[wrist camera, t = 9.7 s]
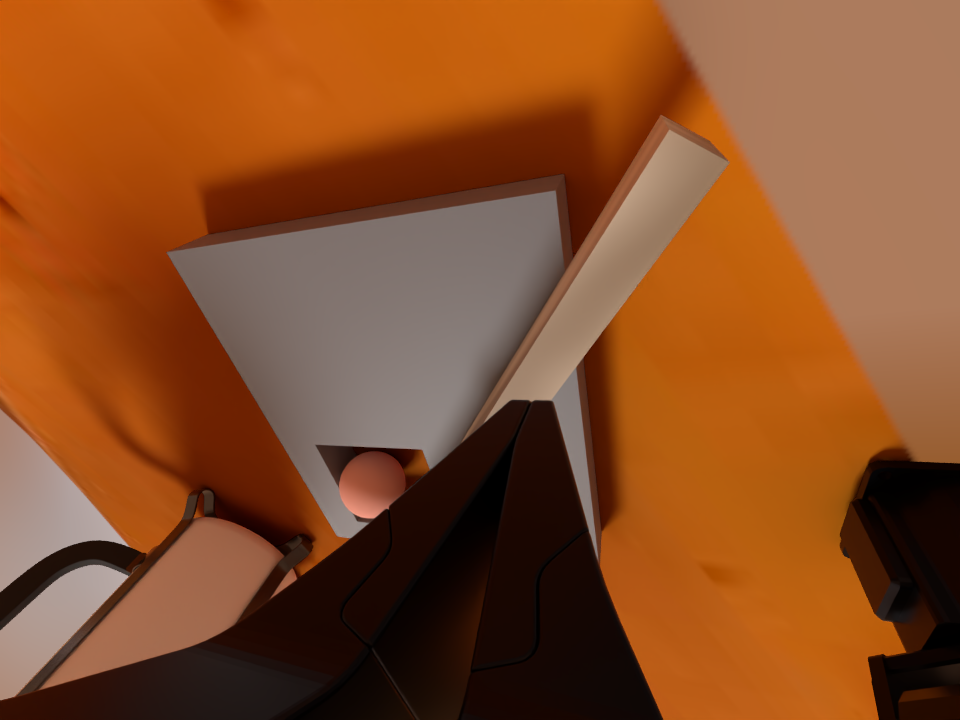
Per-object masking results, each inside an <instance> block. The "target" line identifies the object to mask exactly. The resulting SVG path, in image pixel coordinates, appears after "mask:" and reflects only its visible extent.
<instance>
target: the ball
mask: <svg viewBox="0 0 960 720" xmlns="http://www.w3.org/2000/svg"><path fill="white" fill-rule="evenodd" d="M405 486H406V479H405V474H404V471H403V469H402V467H401V465H400V464H399V462H398V461H397V460H396V459H395V458H393V457H392V456H391V455H389V454H386V453H384V452H379V451H370V452H365V453H362V454H360V455H358V456H356V457H355V458H353V459H352V460H351V461H350V462H349V463H348V464H347V465H346V467H345V468H344V470H343V472H342V474H341V477H340V482H339V492H340V496H341V499H342V501H343V503H344V505H345V506H346V507H347V509H348V510H349V511H351V512H352V513H353V514H355V515H357V516H359V517H363V518H375V517H376V516H378V515H379V514H380V513H381V512H382V511H383V510H384V509H389V505H390V504H392V503H393V502H394V501H395V500H396V499H397V498H398V497H400V496H401V495H402V494H403V493H404V491H405Z"/></svg>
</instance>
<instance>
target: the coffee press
mask: <svg viewBox="0 0 960 720" xmlns="http://www.w3.org/2000/svg"><path fill="white" fill-rule="evenodd" d="M201 493H203V494H204V514H205V516H206V517H199V518H193V517H194V515H195V512H196V508H197V502H198V498H199V495H200V494H201ZM312 549H313V545H312V543H311V542H310V541H309V540H308V539H307V538H306V537H305V536H304V535H303V534H299V535H297V536H295V537H294V538H292V539H291V540H289V541H287V542H286V543H284V544H282V545H278V546H273V545H272V544H270V543H269V542H268V541H266V540H265V539H264V538H262V537H261V536H259V535H257V534H256V533H254V532H252V531H250V530H249V529H247V528H244V527H242V526H240V525H238V524H235V523H233V522H230V521H226V520H223V519H219V518H218V517H217V516H216V514H215V494H214V492H213V491H212V490H211V489H199V490H194V491H192V492H191V493H190V494H189V496H188V499H187V504H186V509H185V513H184V516H183V518H182V520H181V521H180V523H179V524H178V525H177V526H176V528H175V529H174V530H173V531H172V532H171V533H170V534H169V535H168V536H167V537H166V539H165V540H164V541H163V542H162V543H161V544H160V545H158V546H156V547H154V548H152V549H151V550H150V551H149V553H148V554H146V553H141V552H139V551H137V550H135V549H133V548H130V547H127V546H125V545H122V544H118V543H115V542H109V541H100V540H99V541H87V542H82V543H78V544H74V545H71V546H68V547H66V548H63V549H61V550H59V551H57V552H55V553H53V554H51V555H49V556H48V557H46V558H44V559H43V560H41V561H40V562H38V563H37V564H35V565H34V566H33V567H31V568H30V569H29V570H27V571H26V572H25V573H23V574H22V575H21V576H20V577H18V578H17V579H16V580H15V581H13V582H12V583H11V584H10V585H9V586H7V587H6V588H5V589H4V590H3V591H1V592H0V630H1V629H2V628H3V627H4V626H6V625H7V624H8V623H9V622H10V621H11V620H12V619H13V618H14V617H15V616H16V615H17V614H18V613H20V612H21V611H22V610H23V609H24V608H25V607H26V606H27V605H28V604H29V603H30V602H31V601H33V600H34V599H35V598H36V597H37V596H38V595H39V594H40V593H42V592H43V591H44V590H45V589H46V588H47V587H48V586H49V585H51V584H52V583H53V582H54V581H56V580H57V579H58V578H60V577H61V576H63V575H64V574H66V573H68V572H70V571H72V570H75V569H77V568H80V567H83V566H87V565H103V566H106V567H109V568H112V569H115V570H117V571H119V572H122V573H124V574H126V575H128V576H129V577H128V578H127V579H126V580H125V581H124V582H123V583H122V585H120V587H119V588H118V589H117V590H116V591H115V592H114V593H113V594H112V595H111V596H110V597H109V598H108V599H107V600H106V601H105V602H104V603H103V604H102V605H101V606H100V607H99V609H98V610H97V611H96V612H95V613H94V614H93V615H92V616H91V617H90V618H89V619H88V620H87V621H86V622H85V623H84V624H83V625H82V626H81V628H80V629H79V630H77V632H76V633H75V634H74V635H73V636H72V637H71V638H70V639H69V640H68V641H67V642H66V643H65V644H64V645H63V646H62V647H61V648H60V649H59V650H58V651H57V653H56V654H55V655H54V656H53V657H52V658H51V659H50V660H49V661H48V662H47V663H46V664H45V665H44V666H43V667H42V668H41V669H40V670H39V671H38V672H37V673H36V675H35V676H34V677H33V678H32V679H31V680H30V681H29V682H28V683H27V684H26V685H25V686H24V687H23V688H22V689H21V690H20V691H19V692H18V694H16V696H20V695H23V694H27V693H30V692H34V691H37V690H41V689H44V688H48V687H51V686H55V685H58V684H62V683H65V682H69V681H72V680H76V679H79V678H83V677H86V676H90V675H93V674H97V673H100V672H104V671H107V670H111V669H114V668H118V667H121V666H125V665H128V664H132V663H135V662H139V661H142V660H146V659H149V658H153V657H156V656H160V655H163V654H167V653H170V652H174V651H177V650H181V649H184V648H187V647H190V646H193V645H196V644H198V643H201V642H203V641H206V640H208V639H210V638H212V637H214V636H216V635H218V634H220V633H221V632H223V631H225V630H227V629H228V628H230V627H232V626H233V625H235V624H236V623H238V622H239V621H241V620H242V619H244V618H245V617H246V616H248V615H249V614H250V613H252V612H253V611H255V610H256V609H257V608H259V607H260V606H261V605H263V604H264V603H265V602H267V601H268V600H269V599H271V598H272V597H274V596H275V595H276V594H278V593H279V592H280V591H282V590H283V589H284V588H286V587H287V586H288V585H290V584H291V583H293V582H294V581H295V580H297V577H296V574H295V572H294V569H293V567H294V566H295V565H297V564H298V563H299V562H300V561H302V560H303V559H304V558H305V557H306V556H308V555H309V554H310V552H311V551H312ZM16 696H15V697H16Z"/></svg>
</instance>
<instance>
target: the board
mask: <svg viewBox="0 0 960 720" xmlns="http://www.w3.org/2000/svg"><path fill="white" fill-rule="evenodd" d="M166 253H167V254H168V256H169V257H170V259H171V261H172V262H173V264H174V266H175V267H176V269H177V271H178V272H179V274H180V276H181V277H182V279H183V281H184V282H185V284H186V286H187V287H188V289H189V291H190V292H191V294H192V296H193V297H194V299H195V301H196V302H197V304H198V306H199V307H200V309H201V311H202V312H203V314H204V316H205V317H206V319H207V321H208V322H209V324H210V326H211V327H212V329H213V331H214V332H215V334H216V336H217V337H218V339H219V341H220V342H221V344H222V346H223V347H224V349H225V351H226V352H227V354H228V356H229V357H230V359H231V361H232V362H233V364H234V365H235V367H236V369H237V370H238V372H239V374H240V375H241V377H242V379H243V380H244V382H245V384H246V385H247V387H248V389H249V390H250V392H251V394H252V395H253V397H254V399H255V400H256V402H257V404H258V405H259V407H260V409H261V410H262V412H263V414H264V415H265V417H266V419H267V420H268V422H269V424H270V425H271V427H272V429H273V430H274V432H275V434H276V435H277V437H278V439H279V440H280V442H281V444H282V445H283V447H284V449H285V450H286V452H287V454H288V455H289V457H290V459H291V460H292V462H293V464H294V465H295V467H296V469H297V470H298V472H299V473H300V475H301V477H302V478H303V480H304V482H305V483H306V485H307V487H308V488H309V490H310V492H311V493H312V495H313V497H314V498H315V500H316V502H317V503H318V505H319V507H320V508H321V510H322V512H323V513H324V515H325V517H326V518H327V520H328V522H329V523H330V525H331V527H332V528H333V530H334V532H335V533H336V535H337V536H339V537H346V538H352V537H353V536H354V535H355V534H356V533H358V532H359V531H360V530H361V529H362V528H364V527H365V526H366V525H367V524H368V523H370V522H371V521H372V520H373V519H374V518H363V517H359V516H357V515H355V514H353V513H352V512H351V511H349V510H348V509H347V507H346V506H345V505H344V503H343V501H342V499H341V496H340V492H339V482H340V477H341V474H342V472H343V470H344V468H345V467H346V465H347V464H348V463H349V462H350V461H351V460H352V459H353V458H355V457H356V454H355V452H354V449H353V447H352V446H356V447H378V448H400V449H422V450H423V452H424V455H425V458H426V460H427V463H428V466H429V468H430V470H431V469H432V468H433V467H434V466H435V465H436V464H437V463H439V462H440V461H441V460H442V459H443V458H444V457H446V456H447V455H448V454H449V453H450V452H451V451H452V450H454V449H455V448H456V447H457V446H458V445H459V444H460V443H461V442H462V440H463V439H464V437H465V435H466V434H467V432H468V430H469V429H470V427H471V426H472V424H473V422H474V421H475V419H476V417H477V416H478V414H479V412H480V411H481V409H482V407H483V406H484V404H485V403H486V401H487V399H488V398H489V396H490V394H491V393H492V391H493V389H494V388H495V386H496V384H497V383H498V381H499V380H500V378H501V376H502V375H503V373H504V371H505V370H506V368H507V366H508V365H509V363H510V361H511V360H512V358H513V357H514V355H515V353H516V352H517V350H518V348H519V347H520V345H521V343H522V342H523V340H524V339H525V337H526V335H527V334H528V332H529V330H530V329H531V327H532V325H533V324H534V322H535V320H536V319H537V317H538V316H539V314H540V312H541V311H542V309H543V307H544V306H545V304H546V302H547V301H548V299H549V297H550V296H551V294H552V293H553V291H554V289H555V288H556V286H557V284H558V283H559V281H560V279H561V278H562V276H563V274H564V273H565V271H566V270H567V268H568V266H569V265H570V263H571V261H572V260H573V253H572V243H571V234H570V224H569V214H568V205H567V195H566V186H565V176H564V174H560V175H554V176H548V177H542V178H537V179H531V180H525V181H519V182H513V183H507V184H501V185H496V186H490V187H484V188H478V189H472V190H466V191H460V192H455V193H449V194H443V195H437V196H431V197H425V198H419V199H414V200H408V201H402V202H396V203H390V204H384V205H378V206H373V207H367V208H361V209H355V210H349V211H343V212H337V213H332V214H326V215H320V216H314V217H308V218H302V219H296V220H291V221H285V222H279V223H273V224H267V225H261V226H255V227H250V228H244V229H238V230H232V231H226V232H220V233H214V234H209V235H206V236H203V237H201V238H199V239H196V240H194V241H192V242H189V243H187V244H185V245H182V246H180V247H178V248H175V249H173V250H171V251H168V252H166ZM551 401H553V402H554V405H555V409H556V413H557V416H558V420H559V423H560V427H561V431H562V434H563V438H564V441H565V445H566V449H567V452H568V456H569V459H570V463H571V467H572V470H573V474H574V477H575V481H576V485H577V488H578V492H579V496H580V499H581V503H582V506H583V510H584V514H585V517H586V521H587V524H588V528H589V533H590V535H591V538H592V542H593V545H594V549H595V552H596V556H597V559H598V562H599V565H600V553H601V534H602V532H601V522H600V512H599V503H598V493H597V484H596V474H595V464H594V455H593V445H592V435H591V426H590V416H589V407H588V397H587V387H586V378H585V368H584V359H583V358H582V360H581V361H580V362H579V364H578V365H577V366H576V368H575V369H574V370H573V372H572V373H571V374H570V376H569V377H568V378H567V380H566V381H565V382H564V384H563V385H562V386H561V388H560V389H559V390H558V392H557V393H556V394H555V396H554V397H553V398H552V400H551Z"/></svg>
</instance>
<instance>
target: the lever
mask: <svg viewBox="0 0 960 720" xmlns="http://www.w3.org/2000/svg"><path fill="white" fill-rule="evenodd" d="M729 163H730V162H729V161H728V160H727V159H726V158H725V157H724V156H723V155H722V154H721V153H720V152H719V151H718V150H717V149H716V147H715V146H714V145H713V144H712V143H711V142H710V141H709V140H707V139H705V138H703V137H701V136H699V135H698V134H696V133H694V132H692V131H690V130H688V129H687V128H685V127H683V126H681V125H679V124H677V123H675V122H674V121H672V120H670V119H668V118H666V117H664V116H663V115H660V117H659V119H658V120H657V122H656V123H655V125H654V127H653V128H652V130H651V132H650V133H649V135H648V137H647V138H646V140H645V142H644V143H643V145H642V146H641V148H640V150H639V151H638V153H637V155H636V156H635V158H634V160H633V161H632V163H631V164H630V166H629V168H628V169H627V171H626V173H625V174H624V176H623V178H622V179H621V181H620V183H619V184H618V186H617V187H616V189H615V191H614V192H613V194H612V196H611V197H610V199H609V201H608V202H607V204H606V206H605V207H604V209H603V210H602V212H601V214H600V215H599V217H598V219H597V220H596V222H595V224H594V225H593V227H592V229H591V230H590V232H589V233H588V235H587V237H586V238H585V240H584V242H583V243H582V245H581V247H580V248H579V250H578V251H577V253H576V255H575V256H574V258H573V260H572V261H571V263H570V265H569V266H568V268H567V270H566V271H565V273H564V274H563V276H562V278H561V279H560V281H559V283H558V284H557V286H556V288H555V289H554V291H553V293H552V294H551V296H550V297H549V299H548V301H547V302H546V304H545V306H544V307H543V309H542V311H541V312H540V314H539V316H538V317H537V319H536V320H535V322H534V324H533V325H532V327H531V329H530V330H529V332H528V334H527V335H526V337H525V339H524V340H523V342H522V343H521V345H520V347H519V348H518V350H517V352H516V353H515V355H514V357H513V358H512V360H511V361H510V363H509V365H508V366H507V368H506V370H505V371H504V373H503V375H502V376H501V378H500V380H499V381H498V383H497V384H496V386H495V388H494V389H493V391H492V393H491V394H490V396H489V398H488V399H487V401H486V403H485V404H484V406H483V407H482V409H481V411H480V412H479V414H478V416H477V417H476V419H475V421H474V422H473V424H472V426H471V427H470V429H469V430H468V432H467V434H466V435H465V437H464V439H463V440H462V442H463V441H464V440H465V439H466V438H467V437H468V436H470V435H471V434H472V433H473V432H474V431H475V430H476V429H478V428H479V427H480V426H481V425H482V424H483V423H485V422H486V421H487V420H488V419H489V418H490V417H491V416H493V415H494V414H495V413H496V412H497V411H498V410H499V409H501V408H502V407H503V406H504V405H505V404H506V403H507V402H509V401H510V400H530V401H531V402H532V401H534V400H552V398H553V397H554V396H555V394H556V393H557V392H558V390H559V389H560V388H561V386H562V385H563V384H564V382H565V381H566V380H567V378H568V377H569V376H570V374H571V373H572V372H573V370H574V369H575V368H576V366H577V365H578V364H579V362H580V361H581V360H582V358H583V357H584V356H585V354H586V353H587V352H588V350H589V349H590V348H591V346H592V345H593V344H594V342H595V341H596V340H597V338H598V337H599V336H600V334H601V333H602V332H603V330H604V329H605V328H606V326H607V325H608V324H609V323H610V321H611V320H612V319H613V317H614V316H615V315H616V313H617V312H618V311H619V309H620V308H621V307H622V305H623V304H624V303H625V301H626V300H627V299H628V297H629V296H630V295H631V293H632V292H633V291H634V289H635V288H636V287H637V285H638V284H639V283H640V281H641V280H642V279H643V277H644V276H645V275H646V273H647V272H648V271H649V269H650V268H651V267H652V265H653V264H654V263H655V261H656V260H657V259H658V257H659V256H660V255H661V253H662V252H663V251H664V249H665V248H666V247H667V245H668V244H669V243H670V241H671V240H672V239H673V237H674V236H675V235H676V233H677V232H678V231H679V229H680V228H681V227H682V225H683V224H684V223H685V221H686V220H687V219H688V217H689V216H690V215H691V213H692V212H693V211H694V209H695V208H696V207H697V205H698V204H699V203H700V201H701V200H702V199H703V197H704V196H705V195H706V193H707V192H708V191H709V189H710V188H711V187H712V185H713V184H714V183H715V181H716V180H717V179H718V177H719V176H720V175H721V173H722V172H723V171H724V169H725V168H726V167H727V165H728V164H729ZM462 442H461V443H462Z"/></svg>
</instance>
